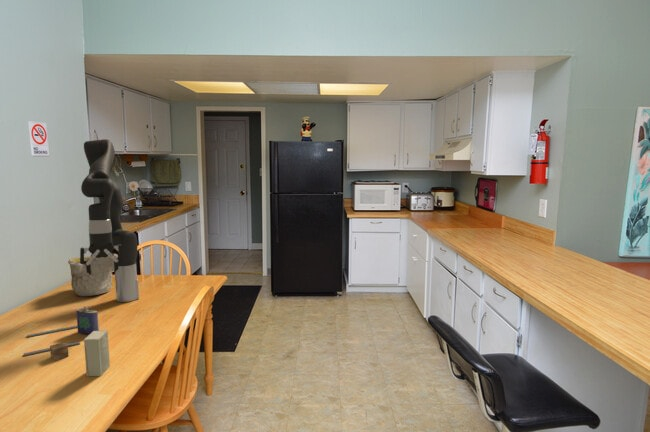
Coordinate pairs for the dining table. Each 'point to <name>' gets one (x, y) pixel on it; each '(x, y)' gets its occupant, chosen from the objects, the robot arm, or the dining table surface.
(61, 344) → the walnut cube
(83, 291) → the ceramic vessel
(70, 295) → the dining table surface
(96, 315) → the flask
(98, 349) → the skincare box
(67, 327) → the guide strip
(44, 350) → the guide strip
